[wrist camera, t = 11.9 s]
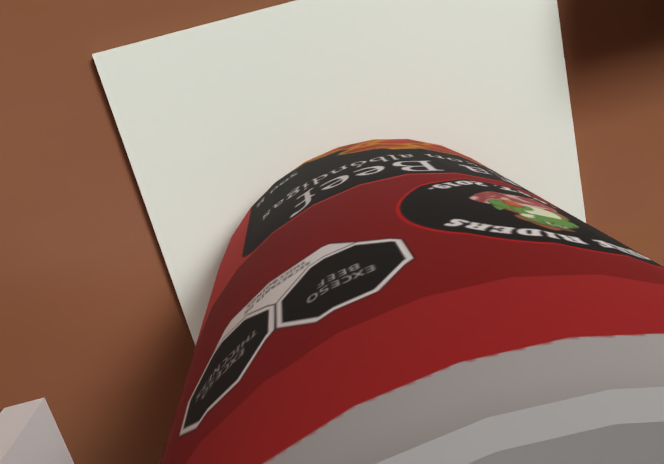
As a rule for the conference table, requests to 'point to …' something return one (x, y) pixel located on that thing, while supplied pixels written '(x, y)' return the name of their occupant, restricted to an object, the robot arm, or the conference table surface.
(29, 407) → the robot arm
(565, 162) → the chute
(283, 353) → the canned food
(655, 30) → the conference table surface
